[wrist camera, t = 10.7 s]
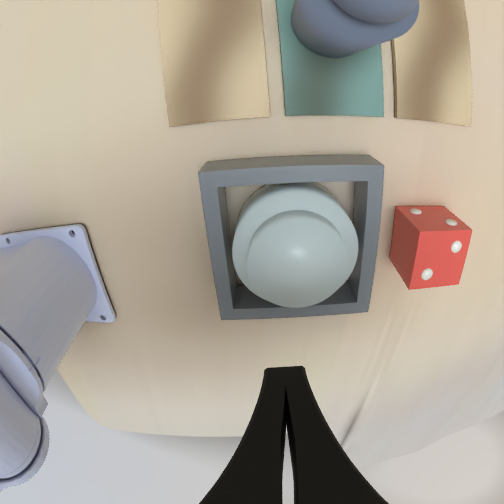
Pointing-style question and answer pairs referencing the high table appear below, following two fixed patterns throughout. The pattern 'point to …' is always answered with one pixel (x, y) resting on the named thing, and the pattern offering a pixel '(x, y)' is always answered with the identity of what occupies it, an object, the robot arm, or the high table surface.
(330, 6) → the pawn
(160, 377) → the high table surface
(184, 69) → the track
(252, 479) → the robot arm
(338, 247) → the dome
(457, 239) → the red die
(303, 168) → the dome frame
